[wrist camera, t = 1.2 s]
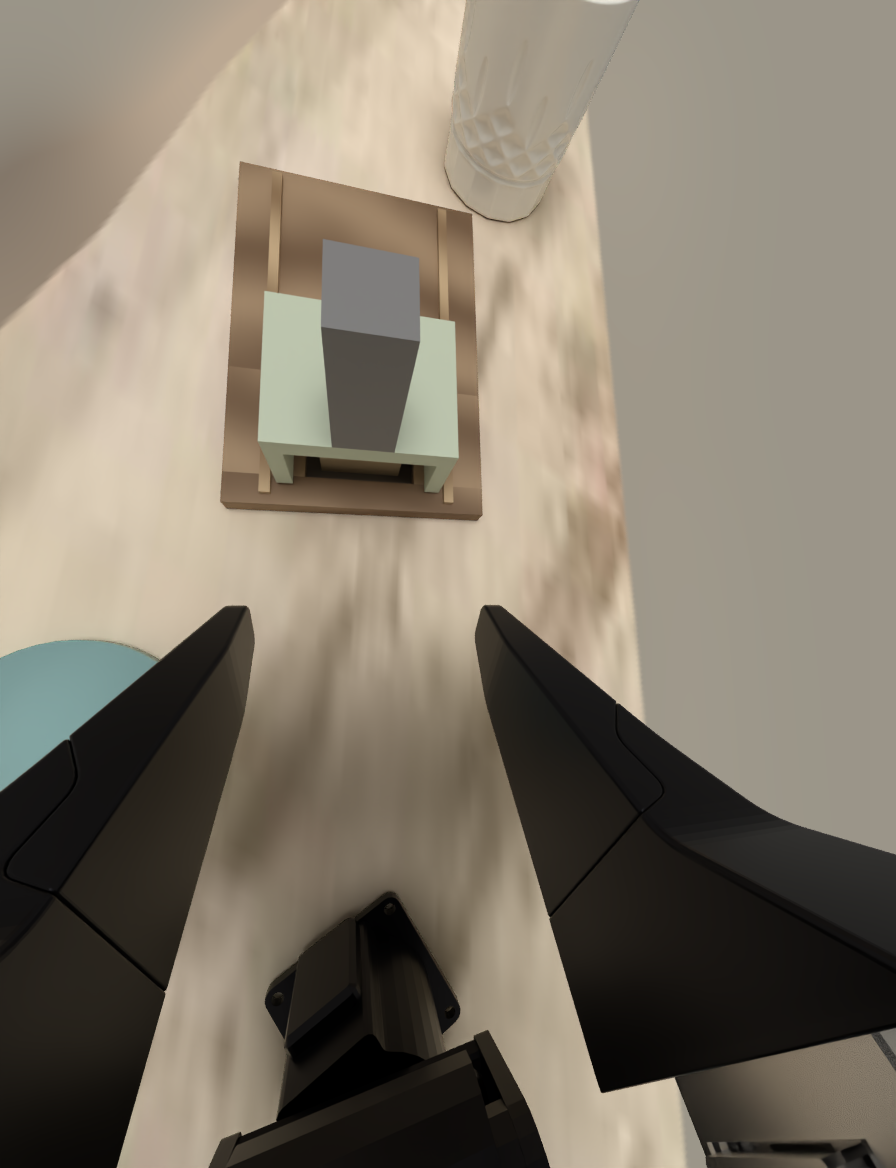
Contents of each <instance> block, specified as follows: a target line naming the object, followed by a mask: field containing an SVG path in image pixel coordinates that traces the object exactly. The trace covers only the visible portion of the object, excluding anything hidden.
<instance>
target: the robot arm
mask: <svg viewBox="0 0 896 1168" xmlns="http://www.w3.org/2000/svg"><path fill="white" fill-rule="evenodd" d="M254 644H255V638H254V631H253V625H252V619H251V614H250V610H249V608H248V607H247V606H225V607H224V608H222V609H221V610H220V611H219V612H217V613H216V614H215V615H214V616H213V617H211V618H210V619H209V620H208V621H207V622H205V623H204V624H203V625H202V626H201V627H199V628H198V629H197V630H196V631H195V632H193V633H192V634H191V635H190V636H189V637H187V638H186V639H185V640H184V641H183V642H181V643H180V644H179V645H178V646H177V647H175V648H174V649H173V650H172V651H171V652H169V653H168V654H167V655H166V656H164V657H163V658H162V659H161V660H160V661H158V662H157V663H156V664H155V665H154V666H152V667H151V668H150V669H149V670H148V671H146V672H145V673H144V674H143V675H142V676H140V677H139V678H138V679H137V680H136V681H134V682H133V683H132V684H131V685H130V686H128V687H127V688H126V689H125V690H124V691H122V692H121V693H120V694H119V695H118V696H116V697H115V698H114V699H113V700H112V701H110V702H109V703H108V704H107V705H106V706H104V707H103V708H102V709H101V710H100V711H98V712H97V713H96V714H95V715H94V716H92V717H91V718H90V719H89V720H88V721H86V722H85V723H84V724H83V725H82V726H80V727H79V728H78V729H77V730H76V731H74V732H73V733H72V734H71V735H70V736H69V739H70V740H68V739H65V740H63V741H62V742H61V743H60V744H58V745H57V746H56V747H55V748H54V749H52V750H51V751H50V752H49V753H48V754H46V755H45V756H44V757H43V758H42V759H40V760H39V761H38V762H37V763H35V764H34V765H33V766H32V767H30V768H29V769H28V770H27V771H25V772H24V773H23V774H22V775H20V776H19V777H18V778H17V779H15V780H14V781H13V782H12V783H10V784H9V785H8V786H7V787H5V788H4V789H3V790H2V791H0V1168H117V1165H118V1161H119V1157H120V1154H121V1150H122V1147H123V1143H124V1140H125V1136H126V1133H127V1129H128V1126H129V1122H130V1118H131V1115H132V1111H133V1108H134V1104H135V1101H136V1097H137V1094H138V1090H139V1087H140V1083H141V1079H142V1076H143V1072H144V1069H145V1065H146V1062H147V1058H148V1055H149V1051H150V1048H151V1044H152V1040H153V1037H154V1033H155V1030H156V1026H157V1023H158V1019H159V1016H160V1012H161V1009H162V1005H163V1002H164V998H165V992H164V991H165V990H166V989H167V987H168V983H169V980H170V976H171V972H172V969H173V965H174V962H175V958H176V955H177V951H178V948H179V944H180V941H181V937H182V934H183V930H184V926H185V923H186V919H187V916H188V912H189V909H190V905H191V902H192V898H193V895H194V891H195V887H196V884H197V880H198V877H199V873H200V870H201V866H202V863H203V859H204V856H205V852H206V849H207V845H208V841H209V838H210V834H211V831H212V827H213V824H214V820H215V817H216V813H217V810H218V806H219V803H220V799H221V795H222V792H223V788H224V785H225V781H226V778H227V774H228V771H229V767H230V764H231V760H232V757H233V753H234V749H235V746H236V742H237V739H238V735H239V732H240V728H241V725H242V720H243V716H244V712H245V706H246V700H247V693H248V686H249V679H250V673H251V666H252V659H253V652H254ZM475 644H476V650H477V656H478V662H479V667H480V673H481V679H482V685H483V691H484V696H485V701H486V705H487V709H488V712H489V715H490V719H491V722H492V726H493V729H494V732H495V736H496V739H497V743H498V746H499V749H500V753H501V756H502V760H503V763H504V766H505V770H506V773H507V777H508V780H509V783H510V787H511V790H512V794H513V797H514V800H515V804H516V807H517V810H518V814H519V817H520V821H521V824H522V827H523V831H524V834H525V838H526V841H527V844H528V848H529V851H530V855H531V858H532V861H533V865H534V868H535V872H536V875H537V878H538V882H539V885H540V888H541V892H542V895H543V899H544V902H545V905H546V909H547V912H548V915H549V917H550V923H551V927H552V930H553V933H554V937H555V940H556V944H557V947H558V950H559V954H560V957H561V961H562V964H563V967H564V971H565V974H566V978H567V981H568V984H569V988H570V991H571V995H572V998H573V1001H574V1005H575V1008H576V1012H577V1015H578V1018H579V1022H580V1025H581V1028H582V1032H583V1035H584V1039H585V1042H586V1045H587V1049H588V1052H589V1056H590V1059H591V1062H592V1066H593V1069H594V1073H595V1076H596V1079H597V1082H598V1085H599V1088H600V1091H601V1093H606V1092H611V1091H615V1090H620V1089H624V1088H629V1087H633V1086H638V1085H642V1084H647V1083H651V1082H656V1081H660V1080H665V1079H669V1078H674V1077H675V1080H676V1082H677V1085H678V1087H679V1090H680V1092H681V1095H682V1097H683V1100H684V1102H685V1105H686V1107H687V1110H688V1112H689V1115H690V1117H691V1120H692V1122H693V1125H694V1127H695V1130H696V1132H697V1135H698V1137H699V1140H700V1143H701V1145H702V1148H703V1150H704V1153H705V1155H706V1165H707V1168H896V855H895V854H892V853H889V852H885V851H882V850H878V849H875V848H872V847H868V846H865V845H861V844H858V843H855V842H851V841H848V840H845V839H842V838H838V837H834V836H831V835H827V834H824V833H821V832H818V831H814V830H811V829H807V828H804V827H801V826H798V825H795V824H793V823H790V822H788V821H785V820H783V819H780V818H778V817H776V816H774V815H772V814H770V813H768V812H766V811H765V810H763V809H761V808H760V807H758V806H756V805H755V804H753V803H752V802H750V801H749V800H747V799H746V798H744V797H743V796H742V795H740V794H739V793H737V792H736V791H735V790H733V789H732V788H730V787H729V786H728V785H726V784H725V783H723V782H722V781H721V780H719V779H718V778H717V777H715V776H714V775H712V774H711V773H709V772H708V771H707V770H705V769H704V768H702V767H701V766H700V765H698V764H697V763H696V762H694V761H693V760H691V759H690V758H689V757H687V756H686V755H684V754H683V753H682V752H680V751H679V750H677V749H676V748H675V747H673V746H672V745H671V744H669V743H668V742H667V741H665V740H664V739H663V738H661V737H660V736H659V735H657V734H656V733H655V732H654V731H652V730H651V729H650V728H648V727H647V726H646V725H645V724H644V723H642V722H641V721H640V720H638V719H637V718H636V717H635V716H633V715H632V714H631V713H630V712H629V711H627V710H626V709H625V708H624V707H623V706H621V705H620V704H616V701H615V700H614V699H613V698H612V697H610V696H609V695H608V694H607V693H606V692H604V691H603V690H602V689H601V688H600V687H598V686H597V685H596V684H595V683H594V682H592V681H591V680H590V679H589V678H587V677H586V676H585V675H584V674H583V673H581V672H580V671H579V670H578V669H577V668H575V667H574V666H573V665H572V664H571V663H569V662H568V661H567V660H566V659H565V658H563V657H562V656H561V655H560V654H559V653H557V652H556V651H555V650H554V649H553V648H551V647H550V646H549V645H548V644H547V643H545V642H544V641H543V640H542V639H540V638H539V637H538V636H537V635H536V634H534V633H533V632H532V631H531V630H530V629H528V628H527V627H526V626H525V625H524V624H522V623H521V622H520V621H519V620H518V619H516V618H515V617H514V616H513V615H512V614H510V613H509V612H508V611H507V610H506V609H504V608H503V607H502V606H500V605H485V606H483V607H482V609H481V611H480V615H479V619H478V623H477V627H476V631H475ZM389 903H393V904H394V906H393V908H392V909H390V910H386V909H385V906H386V905H387V904H389ZM277 992H280V993H282V994H283V996H282V997H281V998H275V997H274V996H273V995H274V994H275V993H277ZM265 1005H266V1008H267V1010H268V1012H269V1014H270V1015H271V1017H272V1019H273V1020H274V1022H275V1024H276V1026H277V1027H278V1029H279V1031H280V1033H281V1034H282V1036H283V1038H284V1039H285V1041H284V1048H285V1050H286V1051H287V1054H286V1061H285V1067H284V1074H283V1080H282V1087H281V1093H280V1100H279V1106H278V1113H277V1119H276V1121H277V1122H275V1123H272V1124H270V1125H267V1126H265V1127H263V1128H260V1129H258V1130H255V1131H253V1132H251V1133H248V1134H246V1135H243V1136H242V1134H241V1132H238V1133H236V1134H234V1135H231V1136H229V1137H226V1138H224V1139H222V1140H221V1141H220V1143H219V1146H218V1148H217V1150H216V1152H215V1154H214V1157H213V1159H212V1161H211V1163H210V1166H209V1168H550V1166H549V1163H548V1159H547V1156H546V1153H545V1150H544V1147H543V1144H542V1141H541V1138H540V1135H539V1132H538V1130H537V1127H536V1124H535V1122H534V1119H533V1117H532V1114H531V1111H530V1109H529V1107H528V1105H527V1103H526V1101H525V1098H524V1096H523V1095H522V1093H521V1091H520V1089H519V1087H518V1085H517V1083H516V1081H515V1080H514V1078H513V1076H512V1074H511V1072H510V1070H509V1068H508V1066H507V1065H506V1063H505V1061H504V1059H503V1057H502V1055H501V1053H500V1051H499V1050H498V1048H497V1046H496V1044H495V1042H494V1040H493V1038H492V1036H491V1035H490V1033H489V1031H488V1030H486V1031H484V1032H481V1033H479V1034H476V1035H474V1040H472V1041H470V1042H468V1043H465V1044H463V1045H460V1046H458V1047H456V1048H453V1049H451V1050H448V1051H446V1050H445V1046H444V1041H443V1037H442V1034H443V1033H444V1032H445V1031H446V1030H447V1029H448V1028H449V1027H450V1026H452V1025H453V1024H454V1023H455V1022H456V1020H457V1019H458V1018H459V1015H460V1006H459V1003H458V1000H457V997H456V995H455V993H454V992H453V990H452V988H451V987H450V985H449V983H448V981H447V980H446V978H445V976H444V975H443V973H442V971H441V969H440V968H439V966H438V964H437V963H436V961H435V959H434V957H433V956H432V954H431V952H430V950H429V949H428V947H427V945H426V944H425V942H424V940H423V938H422V937H421V935H420V933H419V932H418V930H417V928H416V926H415V925H414V923H413V921H412V920H411V918H410V916H409V914H408V913H407V911H406V909H405V908H404V906H403V904H402V902H401V901H400V899H399V897H398V896H397V895H396V894H395V893H392V892H389V893H386V894H384V895H383V896H381V897H380V898H379V899H377V900H376V901H375V902H374V903H372V904H371V905H370V906H369V907H367V908H366V909H365V910H364V911H362V912H361V913H360V914H358V915H357V916H356V917H355V918H348V919H346V920H345V921H344V922H342V923H341V924H340V925H339V926H337V927H336V928H335V929H333V930H332V931H331V932H330V933H328V934H327V935H326V936H325V937H323V938H322V939H321V940H319V941H318V942H317V943H316V944H314V945H313V946H312V947H311V948H309V949H308V950H307V951H305V952H304V953H303V954H302V955H301V956H300V957H299V960H298V963H296V964H295V965H294V966H293V967H291V968H290V969H289V970H287V971H286V972H285V973H284V974H282V975H281V976H280V977H279V978H277V979H276V980H275V981H273V983H272V984H271V985H270V986H269V988H268V990H267V994H266V998H265ZM449 1006H453V1007H452V1009H451V1010H450V1011H445V1010H446V1008H447V1007H449Z"/></svg>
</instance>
